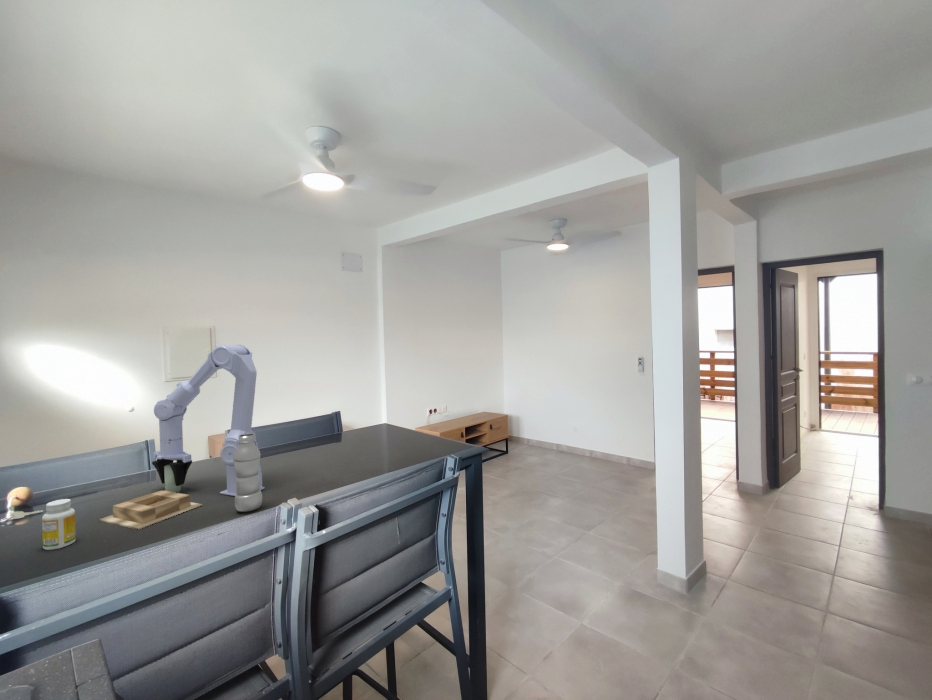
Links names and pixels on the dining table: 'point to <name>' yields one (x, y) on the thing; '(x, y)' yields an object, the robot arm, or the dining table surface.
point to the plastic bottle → (247, 474)
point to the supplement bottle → (58, 525)
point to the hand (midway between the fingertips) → (172, 483)
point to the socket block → (150, 509)
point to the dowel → (170, 480)
